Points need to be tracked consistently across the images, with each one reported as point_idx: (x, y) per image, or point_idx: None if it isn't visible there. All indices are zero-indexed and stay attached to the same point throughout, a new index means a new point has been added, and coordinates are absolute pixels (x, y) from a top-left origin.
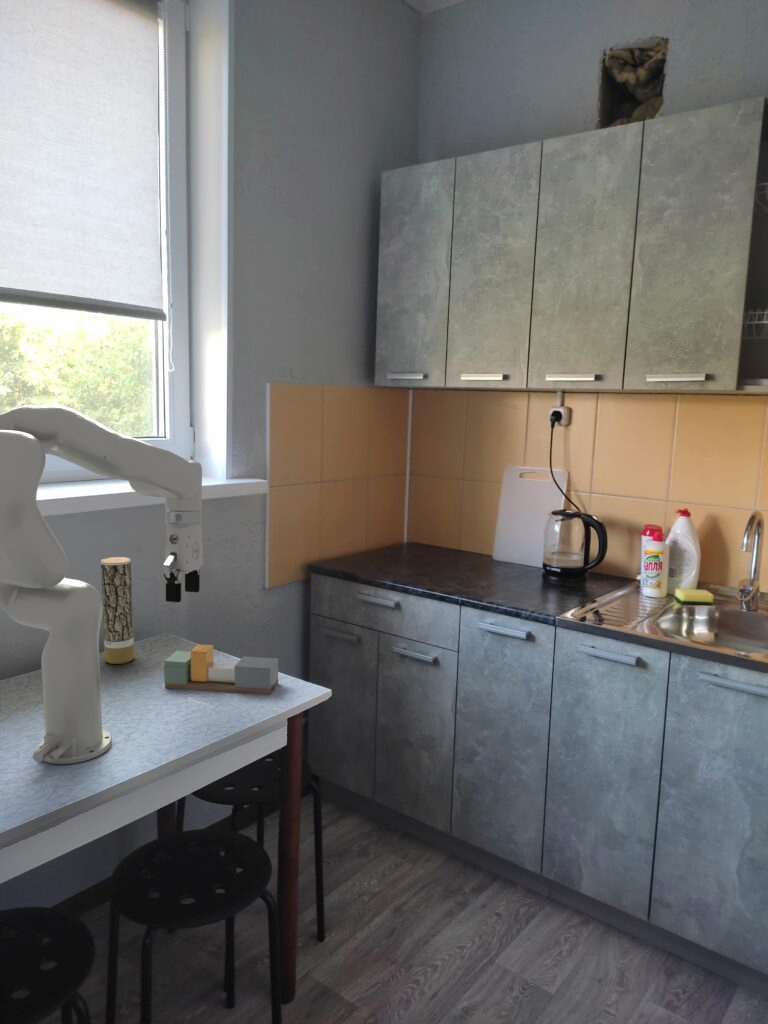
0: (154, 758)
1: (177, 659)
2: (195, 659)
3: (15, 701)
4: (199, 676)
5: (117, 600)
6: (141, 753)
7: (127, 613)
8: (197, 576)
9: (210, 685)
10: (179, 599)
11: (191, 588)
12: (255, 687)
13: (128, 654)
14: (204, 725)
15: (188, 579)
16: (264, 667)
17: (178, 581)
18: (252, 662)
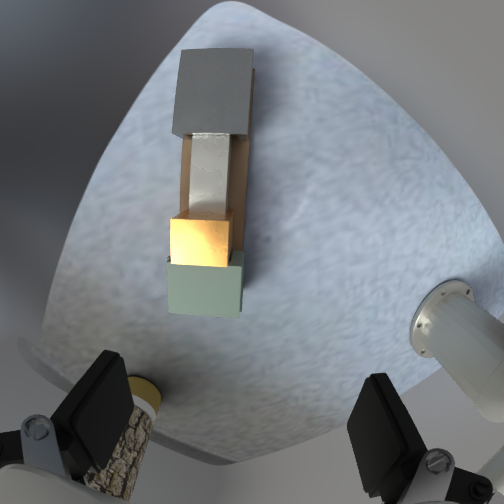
0: (471, 214)
1: (224, 293)
2: (229, 246)
3: (306, 436)
4: (232, 227)
5: (127, 474)
6: (462, 235)
7: (118, 441)
8: (78, 420)
9: (244, 196)
10: (388, 381)
11: (122, 394)
12: (250, 96)
13: (142, 387)
14: (395, 166)
15: (107, 441)
16: (248, 61)
17: (431, 462)
18: (215, 97)
